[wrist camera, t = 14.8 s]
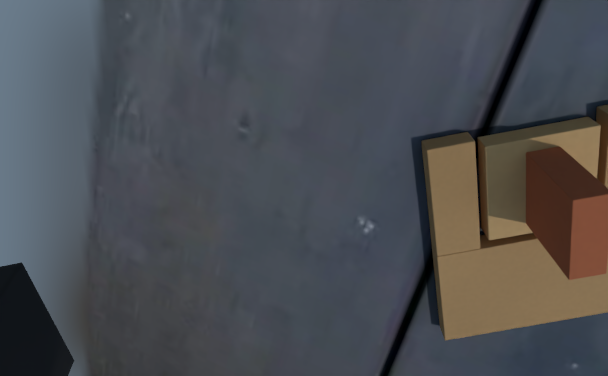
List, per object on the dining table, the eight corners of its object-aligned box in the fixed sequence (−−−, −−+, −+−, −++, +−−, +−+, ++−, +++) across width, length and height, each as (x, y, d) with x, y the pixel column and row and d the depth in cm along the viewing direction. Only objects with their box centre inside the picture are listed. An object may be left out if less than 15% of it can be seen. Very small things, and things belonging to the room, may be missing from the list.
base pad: (439, 326, 48) (445, 340, 46) (420, 140, 40) (426, 150, 38) (624, 293, 47) (636, 307, 46) (644, 97, 39) (660, 105, 37)
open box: (481, 228, 43) (525, 300, 36) (477, 136, 40) (525, 194, 32) (582, 210, 43) (649, 278, 35) (588, 116, 39) (664, 169, 32)
